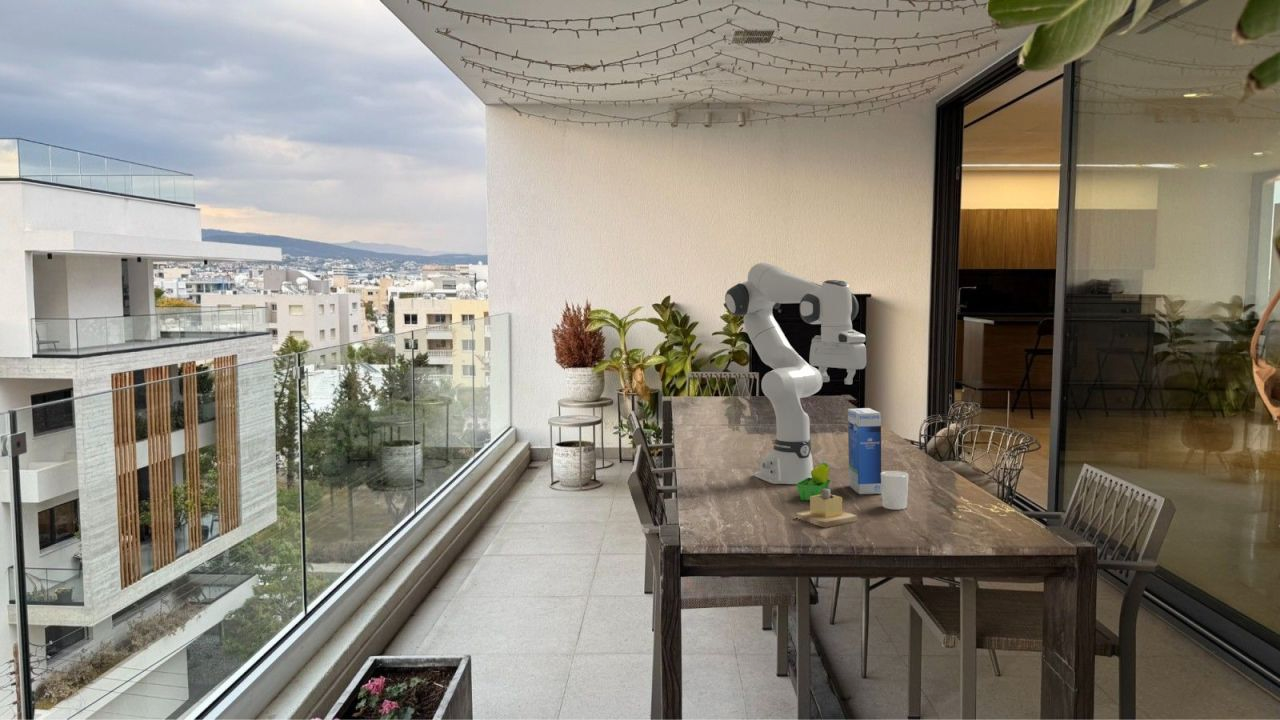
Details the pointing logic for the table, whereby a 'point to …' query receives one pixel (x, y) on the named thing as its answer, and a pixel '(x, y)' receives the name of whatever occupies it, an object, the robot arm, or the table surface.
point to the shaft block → (826, 521)
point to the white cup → (894, 489)
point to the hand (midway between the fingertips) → (836, 383)
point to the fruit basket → (814, 482)
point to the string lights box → (864, 450)
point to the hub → (825, 506)
